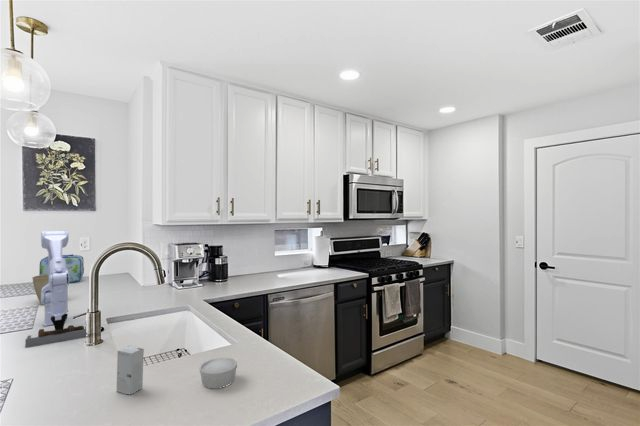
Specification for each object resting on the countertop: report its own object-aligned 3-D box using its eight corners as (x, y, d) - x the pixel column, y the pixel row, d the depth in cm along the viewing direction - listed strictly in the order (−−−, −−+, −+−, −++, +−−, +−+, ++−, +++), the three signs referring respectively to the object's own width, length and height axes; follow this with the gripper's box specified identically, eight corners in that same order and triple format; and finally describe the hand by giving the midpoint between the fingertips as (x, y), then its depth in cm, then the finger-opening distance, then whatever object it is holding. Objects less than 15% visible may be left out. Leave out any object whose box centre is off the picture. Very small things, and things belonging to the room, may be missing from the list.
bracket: (28, 341, 137) (28, 334, 137) (87, 331, 148) (87, 324, 148) (25, 347, 131) (25, 339, 131) (88, 336, 143) (88, 329, 143)
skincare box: (115, 391, 99) (115, 350, 99) (129, 384, 103) (129, 344, 103) (130, 395, 96) (130, 353, 96) (144, 388, 101) (144, 347, 101)
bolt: (83, 338, 146) (38, 346, 136) (81, 329, 149) (37, 337, 139) (85, 328, 144) (39, 335, 134) (83, 319, 147) (38, 326, 137)
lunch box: (85, 279, 263) (85, 252, 263) (82, 282, 253) (81, 254, 253) (43, 282, 252) (43, 254, 252) (38, 285, 242) (38, 256, 242)
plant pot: (64, 304, 193) (64, 276, 193) (30, 308, 184) (30, 279, 184) (66, 298, 205) (66, 272, 205) (34, 302, 197) (34, 275, 197)
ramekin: (207, 373, 110) (207, 356, 110) (241, 373, 110) (241, 357, 110) (193, 391, 99) (193, 373, 99) (231, 391, 99) (231, 373, 99)
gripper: (48, 298, 148) (48, 329, 148) (45, 306, 136) (45, 340, 136) (68, 296, 152) (69, 326, 152) (67, 303, 140) (67, 336, 140)
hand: (59, 332), depth 144 cm, fingers closed
